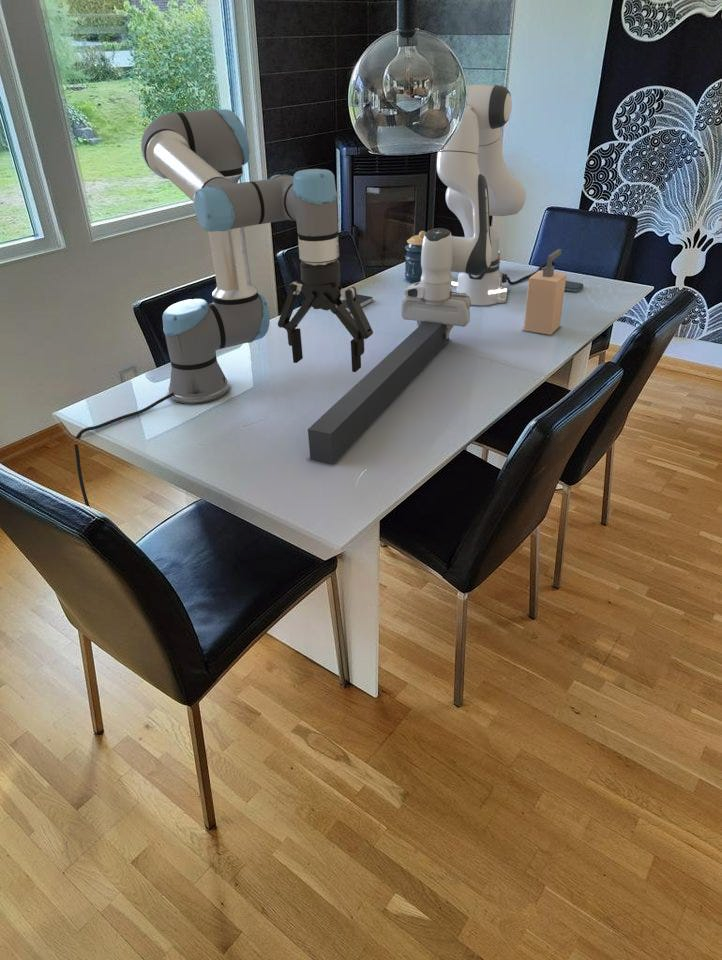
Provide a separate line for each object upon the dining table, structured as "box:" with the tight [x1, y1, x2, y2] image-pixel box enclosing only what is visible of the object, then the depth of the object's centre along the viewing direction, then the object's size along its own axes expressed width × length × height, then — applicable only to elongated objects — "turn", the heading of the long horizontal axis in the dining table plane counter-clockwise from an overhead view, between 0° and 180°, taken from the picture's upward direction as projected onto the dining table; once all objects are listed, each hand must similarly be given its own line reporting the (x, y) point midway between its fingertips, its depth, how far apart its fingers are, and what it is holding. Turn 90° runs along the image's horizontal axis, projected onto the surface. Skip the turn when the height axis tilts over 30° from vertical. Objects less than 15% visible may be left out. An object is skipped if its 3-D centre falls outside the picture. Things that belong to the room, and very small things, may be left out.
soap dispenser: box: [523, 248, 567, 336], centre depth 203 cm, size 13×9×22 cm
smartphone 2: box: [564, 280, 584, 293], centre depth 241 cm, size 8×2×15 cm
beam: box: [307, 321, 450, 465], centre depth 172 cm, size 77×6×8 cm, turn 155°
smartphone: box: [335, 293, 374, 313], centre depth 232 cm, size 8×1×15 cm
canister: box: [404, 230, 427, 284], centre depth 251 cm, size 13×13×18 cm
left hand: (326, 365), depth 138 cm, fingers open, 13 cm apart
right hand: (434, 336), depth 198 cm, fingers closed on beam, 5 cm apart
